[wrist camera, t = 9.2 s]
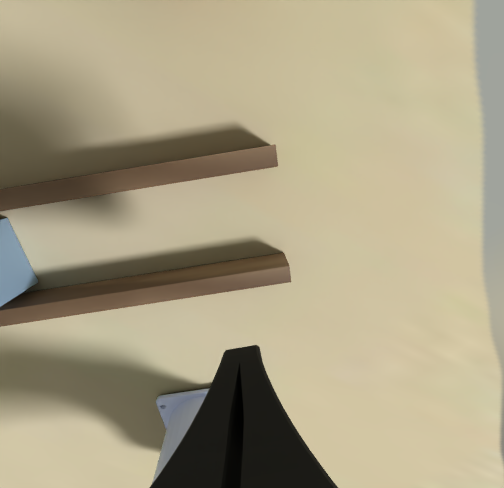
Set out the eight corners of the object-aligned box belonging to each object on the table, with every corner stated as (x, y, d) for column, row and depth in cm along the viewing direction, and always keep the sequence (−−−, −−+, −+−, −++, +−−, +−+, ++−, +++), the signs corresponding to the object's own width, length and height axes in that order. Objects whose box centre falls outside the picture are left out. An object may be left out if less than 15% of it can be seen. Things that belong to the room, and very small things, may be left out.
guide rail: (285, 267, 20) (295, 294, 16) (-35, 316, 20) (-97, 354, 17) (271, 145, 17) (279, 143, 13) (-104, 205, 17) (-199, 221, 14)
